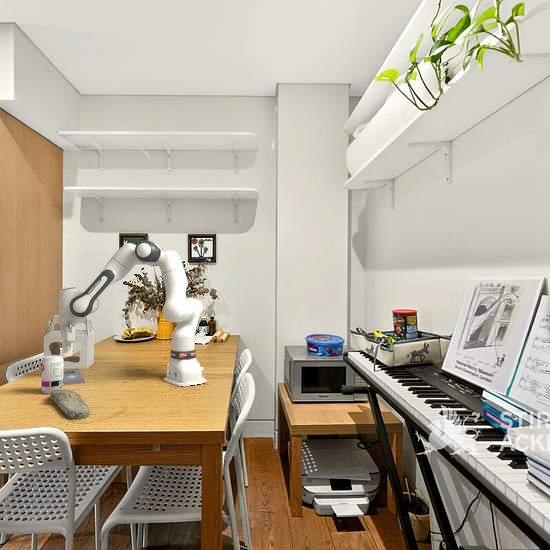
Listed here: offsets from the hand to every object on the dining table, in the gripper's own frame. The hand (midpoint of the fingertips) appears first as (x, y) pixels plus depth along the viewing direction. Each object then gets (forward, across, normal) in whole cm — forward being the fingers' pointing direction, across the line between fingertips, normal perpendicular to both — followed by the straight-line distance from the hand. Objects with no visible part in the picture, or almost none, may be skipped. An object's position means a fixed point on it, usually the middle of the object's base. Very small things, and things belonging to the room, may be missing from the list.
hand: (67, 348), depth 207 cm
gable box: (+14, +24, -4) cm, 28 cm away
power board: (+13, -6, 0) cm, 14 cm away
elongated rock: (+14, -50, +5) cm, 52 cm away
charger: (+3, 0, 0) cm, 3 cm away
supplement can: (+14, -26, +9) cm, 30 cm away
